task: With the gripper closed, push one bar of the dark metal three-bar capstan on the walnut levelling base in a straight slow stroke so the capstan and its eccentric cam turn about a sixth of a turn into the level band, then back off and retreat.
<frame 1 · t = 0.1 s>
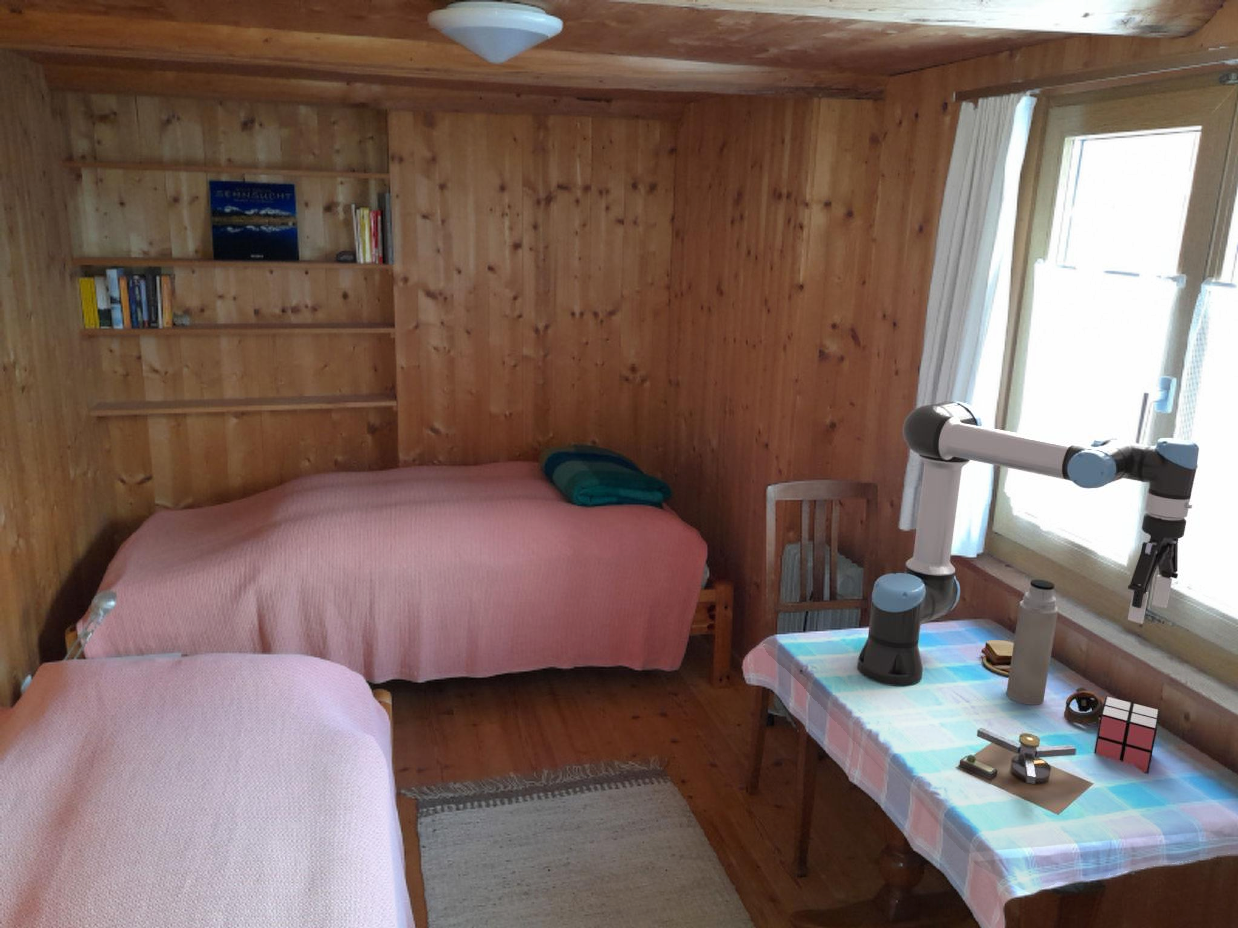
hand: (1147, 613, 197), 28 cm above the table, fingers open, 13 cm apart
pottery mug: (1085, 722, 209), on the table
cam capstan: (1037, 755, 183), point 5 cm above the table, hinge at 58.0°
puzzle cube: (1122, 756, 195), on the table
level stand: (1022, 780, 184), on the table
toy sandwich meal: (1006, 668, 235), on the table
thermos bottle: (1024, 697, 219), on the table
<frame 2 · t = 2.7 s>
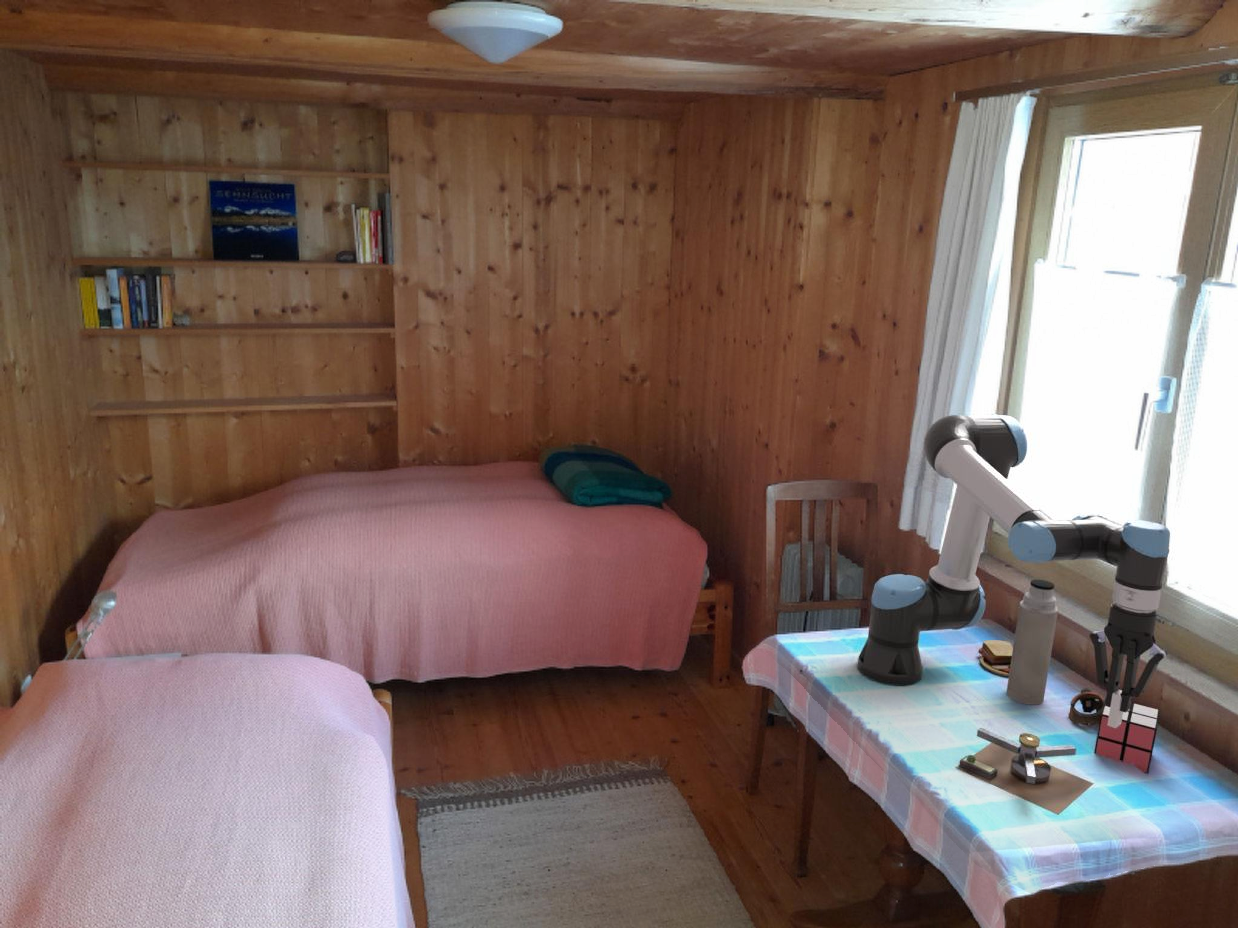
hand: (1114, 724, 178), 14 cm above the table, fingers closed
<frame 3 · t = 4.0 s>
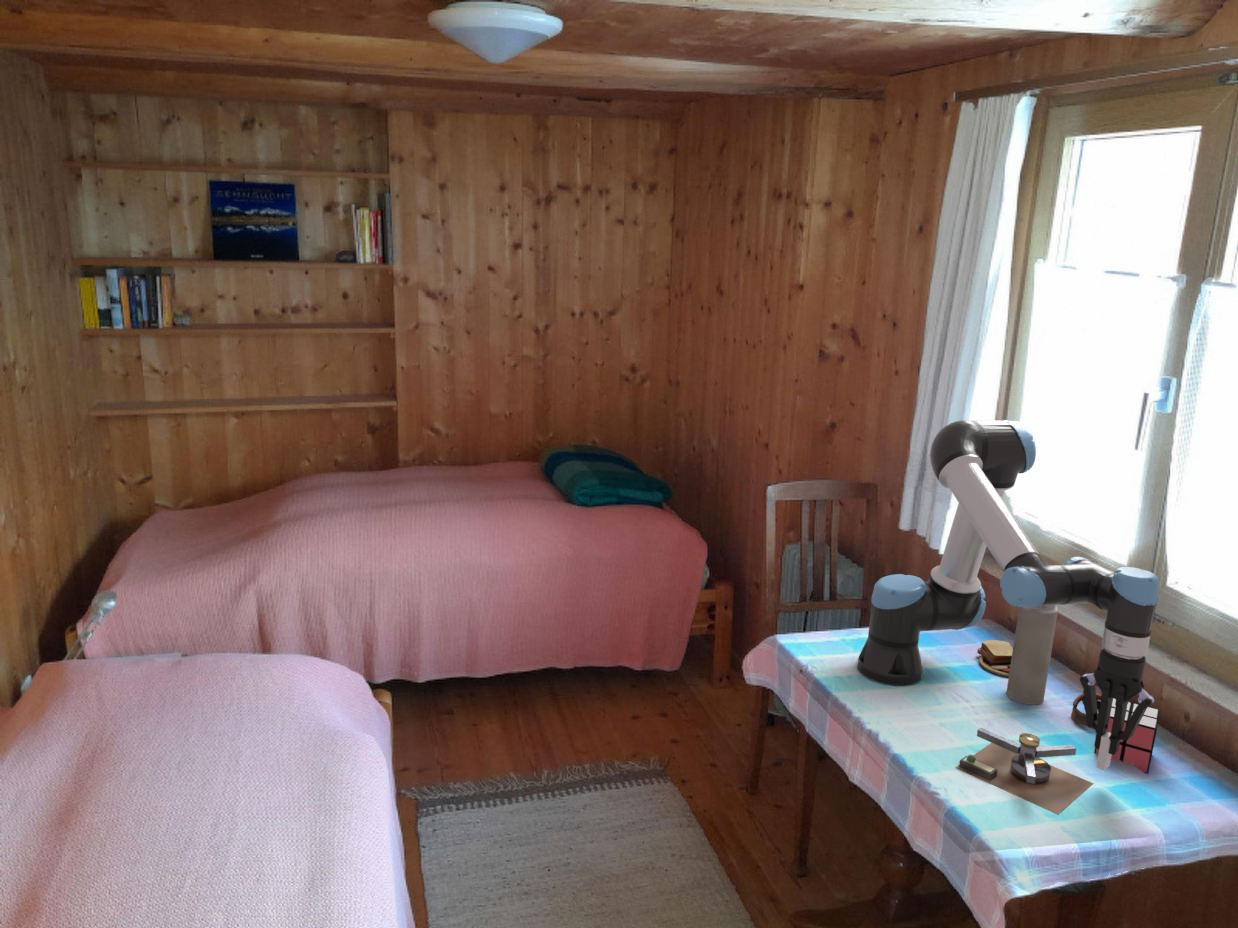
hand: (1102, 766, 180), 5 cm above the table, fingers closed
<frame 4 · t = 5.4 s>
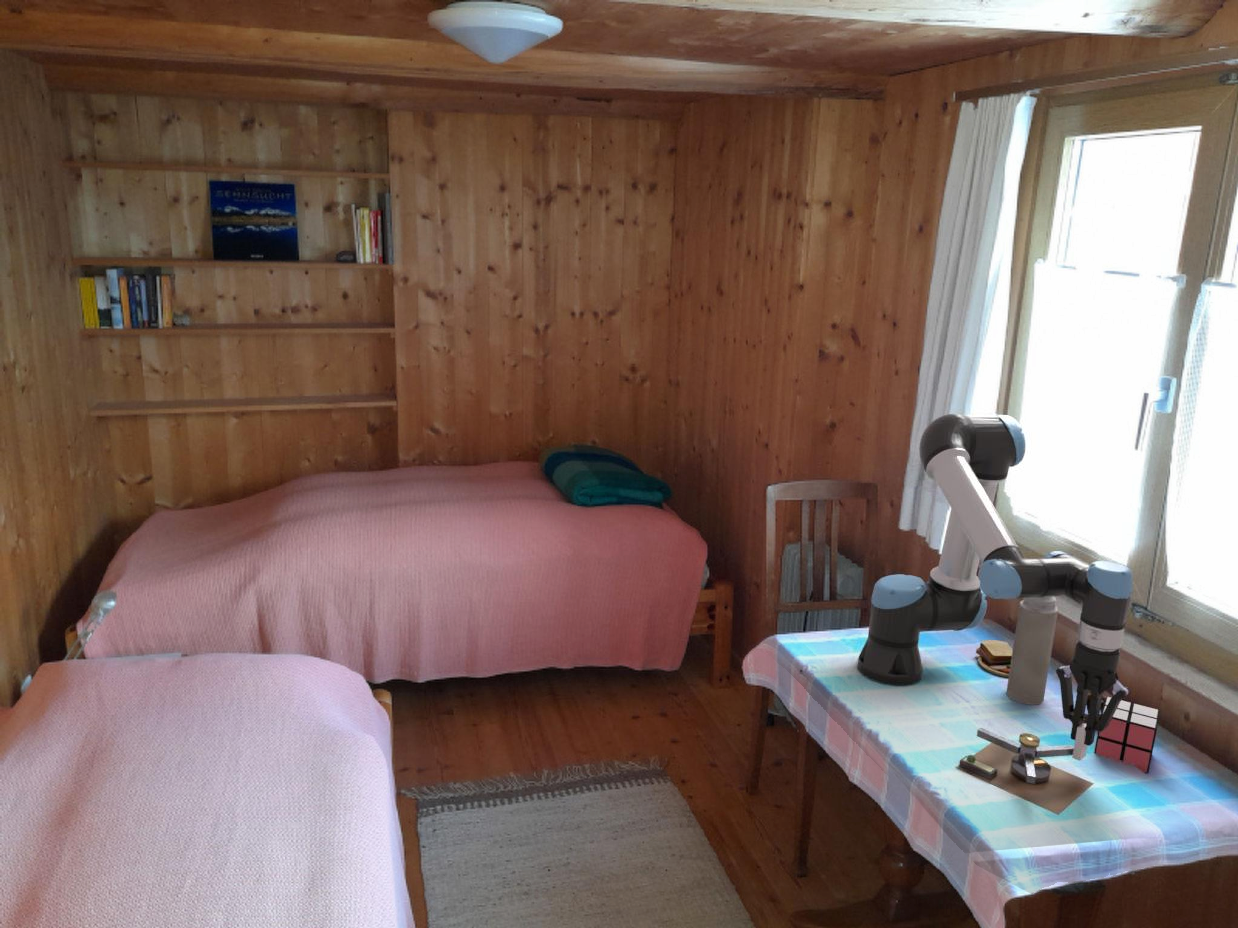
hand: (1078, 756, 184), 5 cm above the table, fingers closed
cam capstan: (1037, 755, 183), point 5 cm above the table, hinge at 58.0°, touching gripper
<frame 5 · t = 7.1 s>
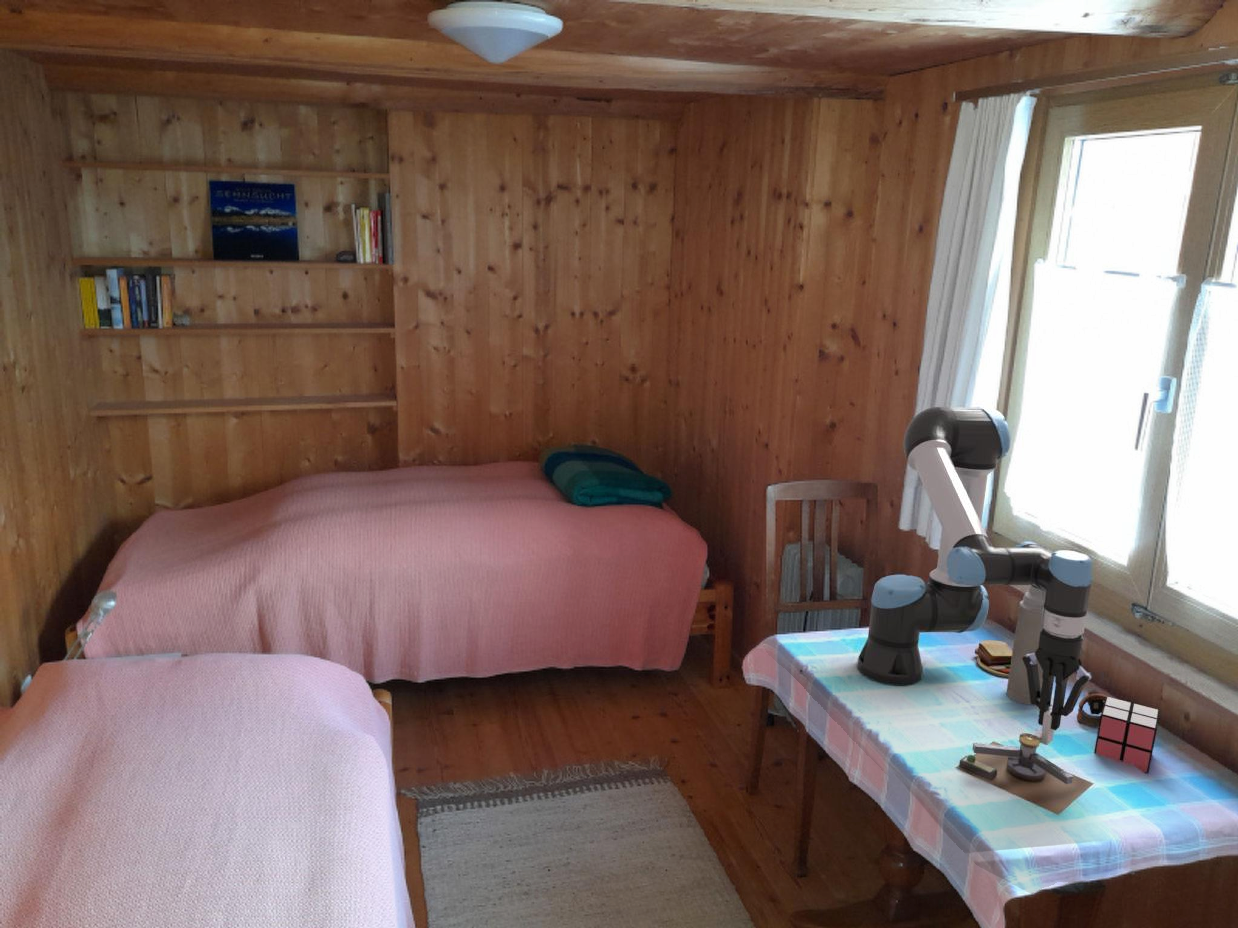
hand: (1046, 741, 189), 5 cm above the table, fingers closed
cam capstan: (1029, 751, 184), point 5 cm above the table, hinge at 100.5°, touching gripper
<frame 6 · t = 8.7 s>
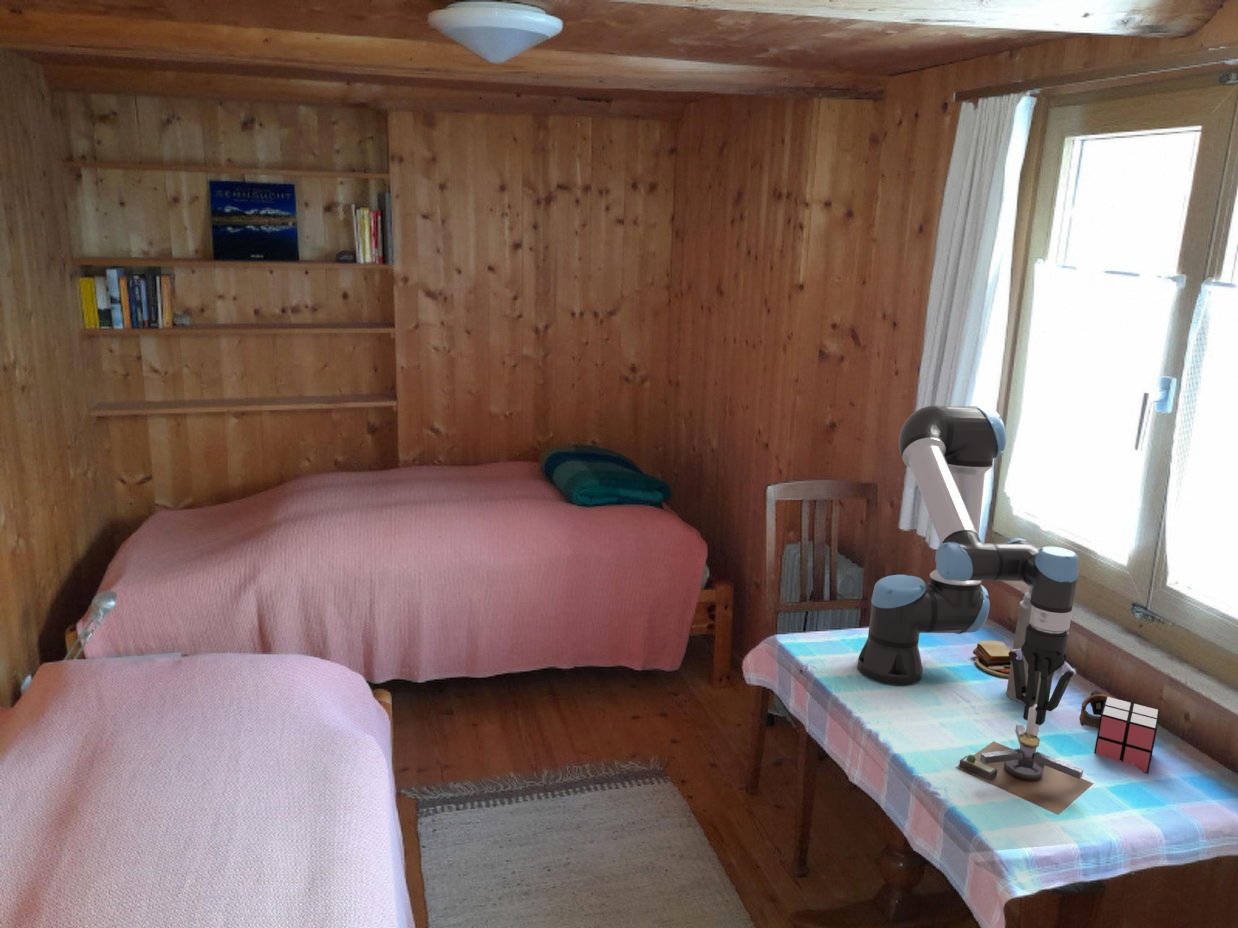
hand: (1031, 736, 190), 5 cm above the table, fingers closed
cam capstan: (1025, 750, 185), point 5 cm above the table, hinge at 122.9°, touching gripper
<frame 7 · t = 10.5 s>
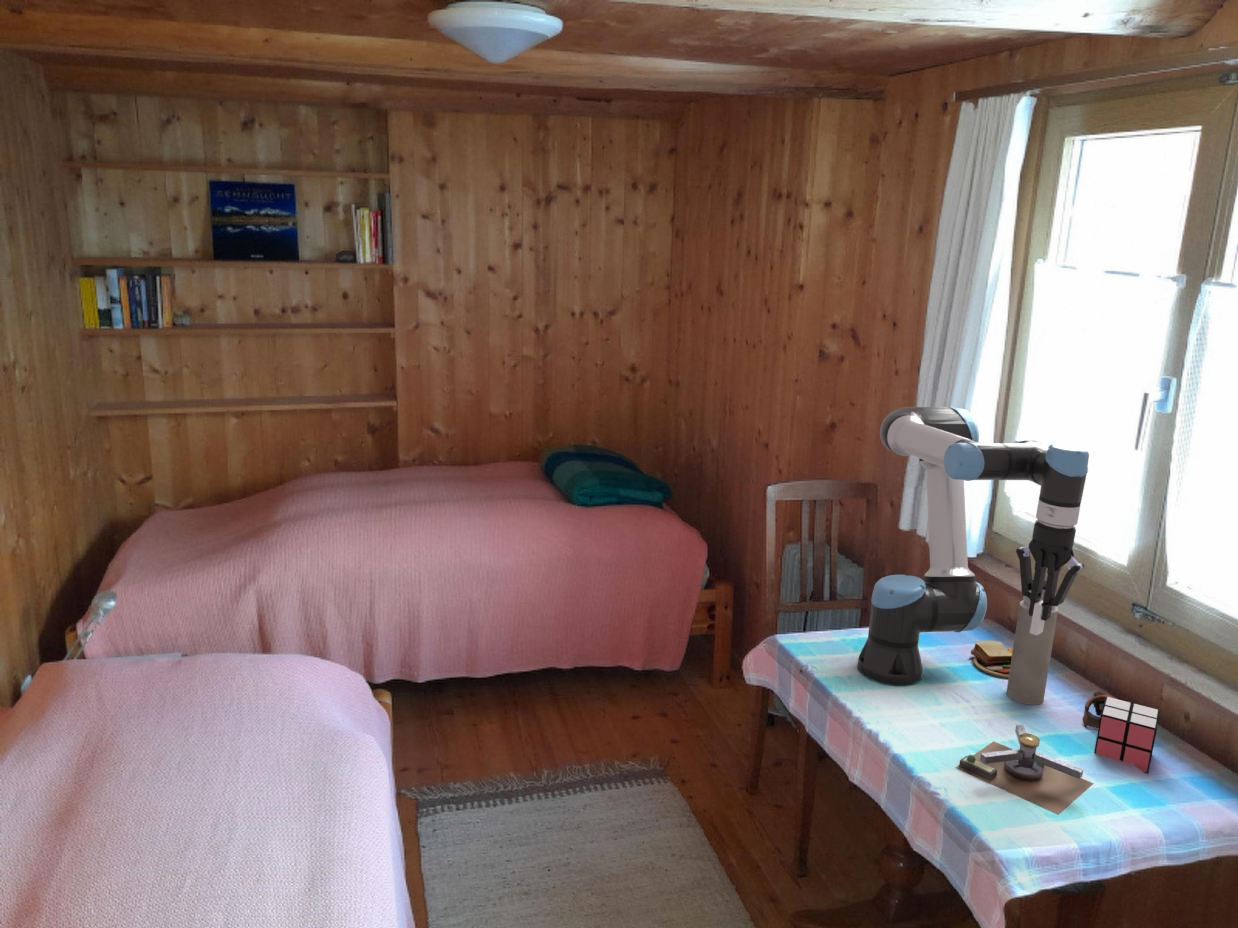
hand: (1036, 632, 193), 25 cm above the table, fingers closed
cam capstan: (1025, 750, 185), point 5 cm above the table, hinge at 122.9°
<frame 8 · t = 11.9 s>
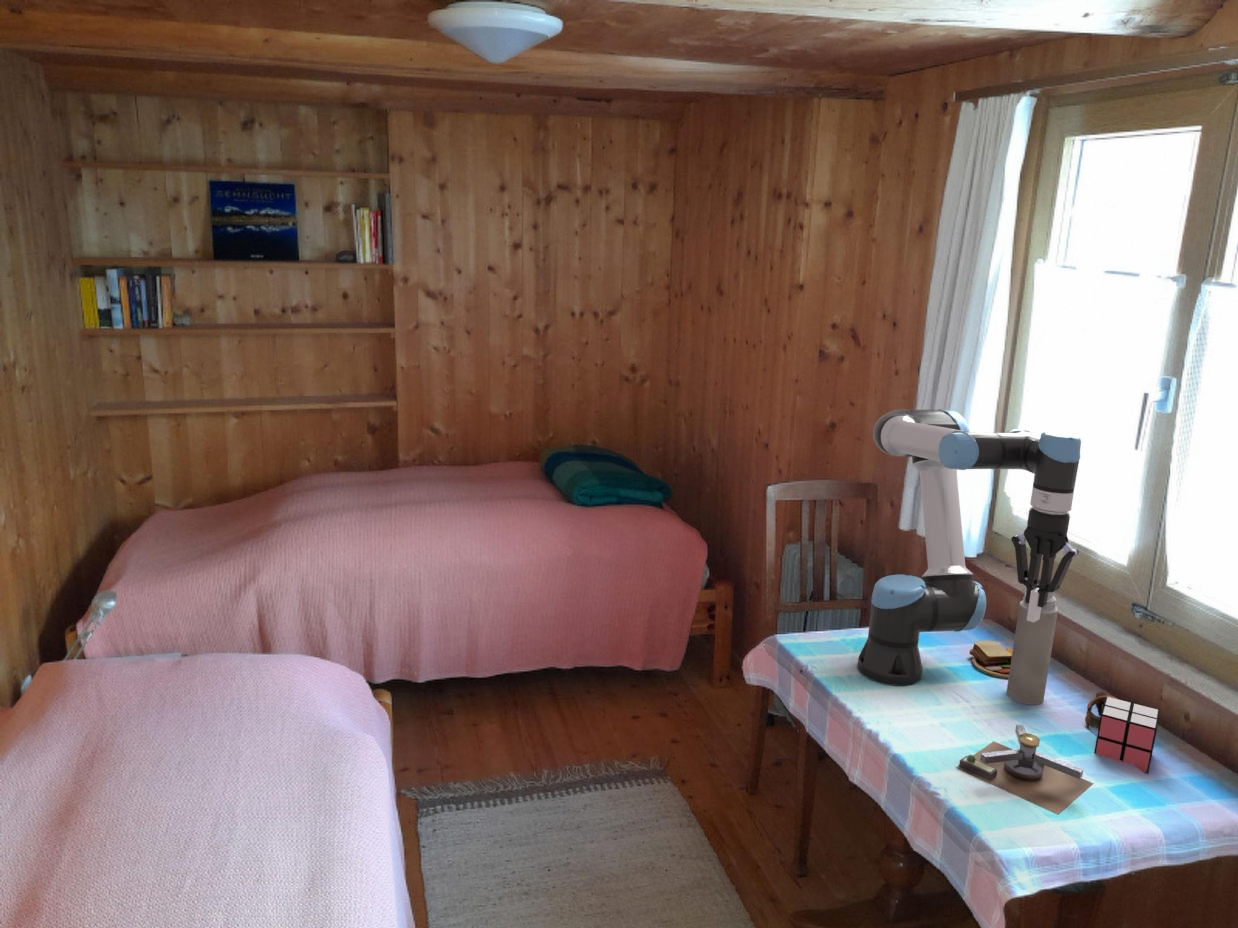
hand: (1033, 619, 195), 26 cm above the table, fingers closed
at the end: cam capstan at +123° (first picture: +58°) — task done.
